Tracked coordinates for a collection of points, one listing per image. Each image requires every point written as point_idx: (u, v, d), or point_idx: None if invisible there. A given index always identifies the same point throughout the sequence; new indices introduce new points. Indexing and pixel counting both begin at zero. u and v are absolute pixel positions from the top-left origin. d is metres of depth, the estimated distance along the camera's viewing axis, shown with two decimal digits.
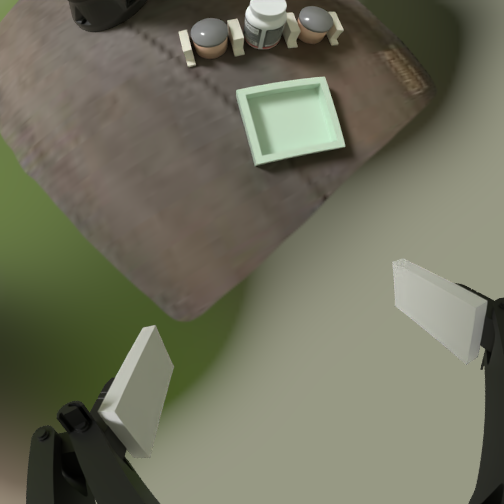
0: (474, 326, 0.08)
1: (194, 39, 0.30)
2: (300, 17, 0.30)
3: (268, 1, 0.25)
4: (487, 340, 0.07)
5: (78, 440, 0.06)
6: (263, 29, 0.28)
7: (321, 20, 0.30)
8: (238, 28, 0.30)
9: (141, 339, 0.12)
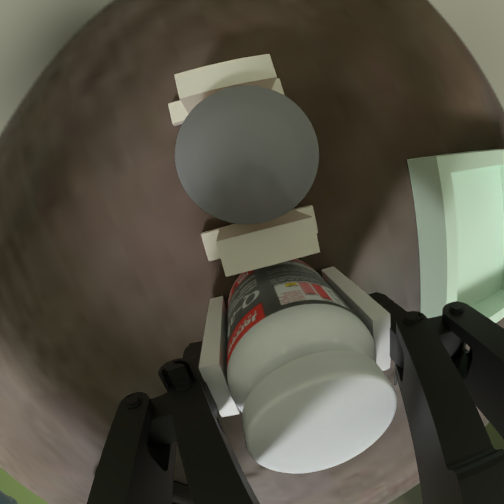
0: (375, 338, 0.09)
1: None
2: (256, 221, 0.10)
3: (315, 436, 0.07)
4: (395, 357, 0.09)
5: (176, 398, 0.08)
6: None
7: (256, 131, 0.09)
8: None
9: (214, 307, 0.14)
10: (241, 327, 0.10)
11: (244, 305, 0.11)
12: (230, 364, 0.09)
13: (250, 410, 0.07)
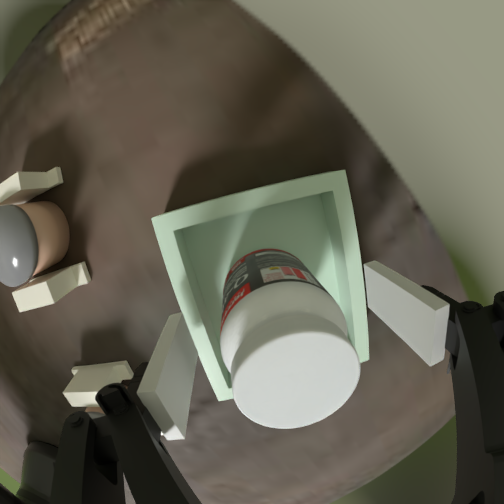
0: (435, 329, 0.09)
1: None
2: (15, 284, 0.13)
3: (290, 389, 0.09)
4: (452, 345, 0.08)
5: (115, 422, 0.07)
6: None
7: (6, 234, 0.12)
8: (82, 395, 0.16)
9: (170, 325, 0.13)
10: (232, 302, 0.12)
11: (236, 286, 0.13)
12: (222, 332, 0.11)
13: (236, 362, 0.09)
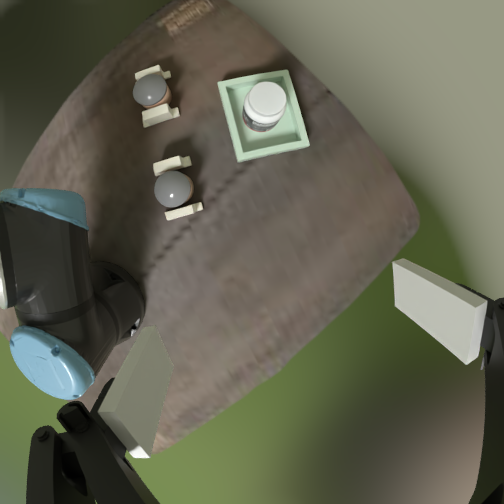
0: (474, 326, 0.08)
1: (181, 202, 0.38)
2: (150, 103, 0.35)
3: (265, 97, 0.31)
4: (487, 340, 0.07)
5: (78, 440, 0.06)
6: (285, 108, 0.34)
7: (151, 84, 0.34)
8: (166, 161, 0.38)
9: (141, 339, 0.12)
10: None
11: None
12: (245, 97, 0.33)
13: (250, 91, 0.31)
